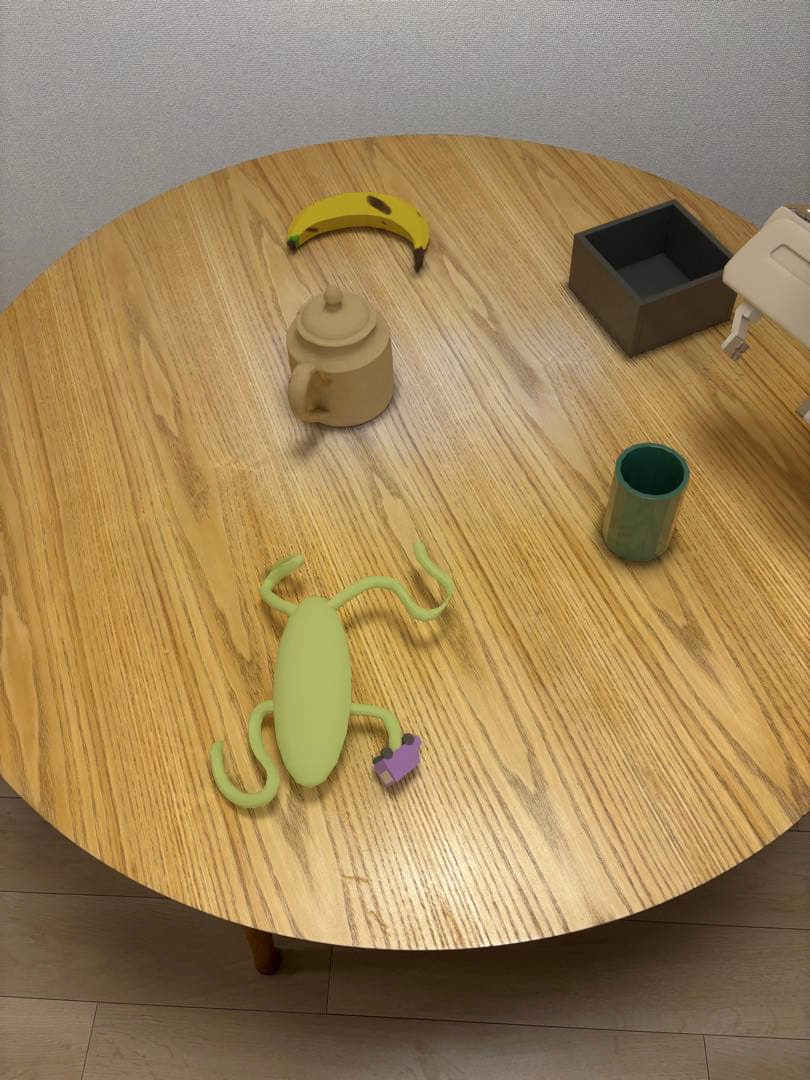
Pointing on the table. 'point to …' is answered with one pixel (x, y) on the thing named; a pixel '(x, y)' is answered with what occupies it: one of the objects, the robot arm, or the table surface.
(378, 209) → the banana
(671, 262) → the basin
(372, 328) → the sugar bowl
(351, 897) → the table surface
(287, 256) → the table surface
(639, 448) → the cup
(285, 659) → the figurine
